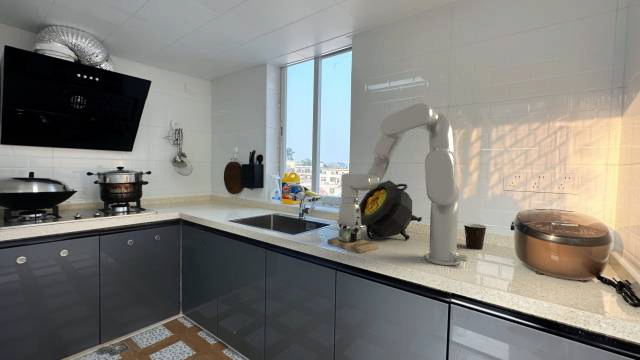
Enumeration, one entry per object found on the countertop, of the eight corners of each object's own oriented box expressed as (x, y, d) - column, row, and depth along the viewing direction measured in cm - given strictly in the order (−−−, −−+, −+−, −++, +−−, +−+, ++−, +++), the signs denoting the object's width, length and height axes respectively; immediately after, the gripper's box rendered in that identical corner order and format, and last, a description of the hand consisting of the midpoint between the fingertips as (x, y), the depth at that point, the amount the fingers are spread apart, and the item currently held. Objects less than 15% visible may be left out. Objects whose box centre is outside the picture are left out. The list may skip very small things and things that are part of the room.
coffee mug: (467, 244, 133) (468, 222, 132) (488, 247, 127) (488, 225, 126) (458, 248, 125) (458, 226, 124) (479, 253, 118) (480, 229, 118)
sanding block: (360, 240, 130) (360, 229, 130) (346, 243, 124) (346, 231, 124) (352, 237, 134) (352, 227, 134) (338, 240, 128) (338, 229, 128)
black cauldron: (432, 235, 128) (398, 204, 120) (383, 258, 143) (350, 232, 135) (423, 195, 150) (394, 166, 142) (381, 218, 165) (353, 194, 156)
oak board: (378, 248, 124) (378, 243, 124) (360, 253, 116) (360, 248, 116) (345, 239, 139) (345, 235, 139) (327, 243, 131) (327, 239, 131)
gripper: (369, 201, 124) (368, 243, 125) (341, 198, 137) (341, 235, 138) (358, 203, 119) (357, 245, 120) (330, 199, 132) (330, 238, 133)
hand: (348, 240), depth 129 cm, fingers closed on sanding block, 5 cm apart
